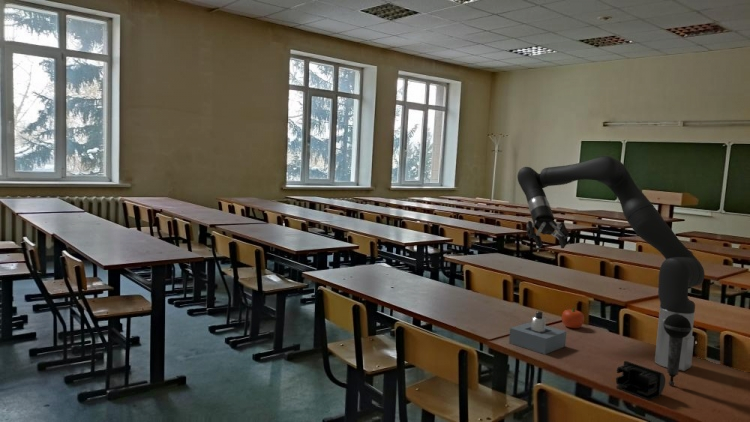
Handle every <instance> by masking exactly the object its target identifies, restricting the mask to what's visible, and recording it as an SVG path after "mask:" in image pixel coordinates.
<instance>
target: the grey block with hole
mask: <svg viewBox="0 0 750 422" xmlns="http://www.w3.org/2000/svg"><path fill="white" fill-rule="evenodd" d="M531 325H532V321H529V322H526V323H523V324H522V323H521V324H519V325H517V326H516V325H515V326H512V327H510V328H509V339H508V340H509V341H508V343H509V344H511V345H514V346H518V347H521V348H523V349H527V350H530V351H533V352H536V353H539V354H543V355H546V354H549V353H551V352H556V351H557V350H559V349H562V348H564V347H566V344H567V343H566V342H567V340H566V339H567V331H566V330H564V329H563V330H562V329H559V328H555V327H552V326H548V325H545V333H544V334H540V333H536V332H533V331H531Z"/></svg>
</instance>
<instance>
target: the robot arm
mask: <svg viewBox="0 0 750 422" xmlns="http://www.w3.org/2000/svg"><path fill="white" fill-rule="evenodd" d="M580 180H581V181H582V180H587V181H588V180H589V181H596V182H599V183H601V184H603V185H605V186H606V187H608V188H609V189H610V190H611V192H613V194H614V195H615V196H616V198H617V200H618V201H619V203H620V206H621V210H622V213H623V216H624V217H625V219H626V221H627V223H628V224H629V225H630V227H631V229H632V230H633V232H634V233H636V235H637V236H638V237H639V238H641V239H642V240H643V241H644V242H646V243H647V244H649V245H650V246H652V247H653V249H655V250H657V252H659V253H660V254H661V255H662V256H663V257H664V258H665V260H663V262H662V263H661V265H660V267H659V273H658V274H659V275H658V292H657V293H658V294H657V295H658V299H659V304H660V305H659V313H658V323H657V324H658V325H657V333H656V342H655V343H656V345H655V353H654V362H655V363H656V364H657V365H658V366H660V367H664V368H667V367H668V351H669V335H668V334H667V333H666V331H665V329H664V326H663V323H664V321H665V319H666V318H667V317H668V316H670V315H673V314H679V315H682V316H684V317H686V318H687V319H688V320H689V322H690V324H691V328H692V329H691V331H690V333H689V334H688V335H687V336H686V337H684V338H683V341H682V348H681V355H680V362H679V369H678V371H682V372H685V371H686V370H689V369H690V368H691V367H692V361H693V354H694V353H693V352H694V342H695V336H694V335H693V330H694V321H695V320H694V319H695V313H696V312H695V311H696V304H695V302H694V301H693V300H690V299H689V288H693V287H696V286H697V287H698V286H699V285H701V284H702V283H703V281H704V279H705V270H704V269H705V268H704V267H703V265H702V263H701V262H700V261H699V259H698V258H697V257H696V256H695V255H694V254H693V253H692V252H691V251H690V250H689V249H688V247H686V246H685V245H684V243H682V241H681V240H680V239H679V238H678V237H677V234H675V232H674V231H673V230H672V228H671V227H670V226H669V224H668V223H667V222H666V221H665V219H664V218H663V217H662V215H661V214H660V212H659V211H658V210H657V208H656V207H655V205H653V204H652V202H651V201H650V200H649V199H648V198H647V196H646V195H645V194H644V193H643V191H641V189H640V188H639V187H638V186H637V185H636V183H635V181H634V180H633V177H632V176H631V174H630V172H629V171H628V169H627V167H626V166H625V164H624V163H623V162H621V161H620V160H618V159H616V158H614V157H612V156H607V155H604V156H599V157H595V158H592V159H589V160H586V161H581V162H578V163H571V164H567V165H559V166H549V167H545V168H543V169H541V170H540V173H538V172H537V170H535V169H533V167H531V166H524V167H521V168H520V169H519V170H518V173H517V181H518V185H519V186H520V188H521V190H522V192H523V193H524V195H525V198H526V201H527V205H528V211H529V213H530V217H531V220H532V221H531V220H528V222H527V223H526V225H525V226H526V227H525V228H526V232H527V236H528V238H529V239H531V238H532V239H534V243H535V245H536V246H537V247H538V248H542V247H543V240H542V237H541V235H540V234H542V235H551V236H553V237H554V238H556V239H557V240H558V242H559V246H560V248H561V249H564V248H565V247H566V246H567V241H566V239H567V238H568V236H569V232H568V229H567V227H566V225H565V223H564V222H563V221H562V222H560V223H557V222H556V221H555V217H554V214H553V211H552V207H551V205H550V202H549V201H548V198H547V195H546V193H545V190H544V188H548V187H553V186H563V185H567V184H568V185H569V184H571V183H573V182H576V181H580ZM534 229H535V230H536V232H534Z"/></svg>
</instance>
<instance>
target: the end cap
mask: <svg viewBox="0 0 750 422" xmlns="http://www.w3.org/2000/svg"><path fill="white" fill-rule="evenodd" d="M620 373H622V374H621V375H620V376H617V377H616V378H615V383H616V389H617V390H619V391H621V392H625V393H627V394H629V395H632V396H635V397H638V398H640V399H643V400H645V401H652V400H654V399H656V398H658V397H659V396H660V395H661V394H663V391H664V389H665V385H666V376H665V374H664V373H662V372H660V371H657V370H656V369H655V370H654V369H652V368H649V367H645V366H642V365H639V364H637V363H634V362H630V361H628V360H625V361H623V365H620V366H618V367H617V369H616V374H620Z"/></svg>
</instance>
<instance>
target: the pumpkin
mask: <svg viewBox="0 0 750 422" xmlns="http://www.w3.org/2000/svg"><path fill="white" fill-rule="evenodd" d="M561 314H562V315H561V321H562V324H563V326H565V327H567V328H569V329H579V328H581V327H583V324H584V321H585V316H584V313H582V311H579V310H576V309H575V308H574V307H573V308H572V309H565V310H564V311H563V312H562V313H561Z"/></svg>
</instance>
